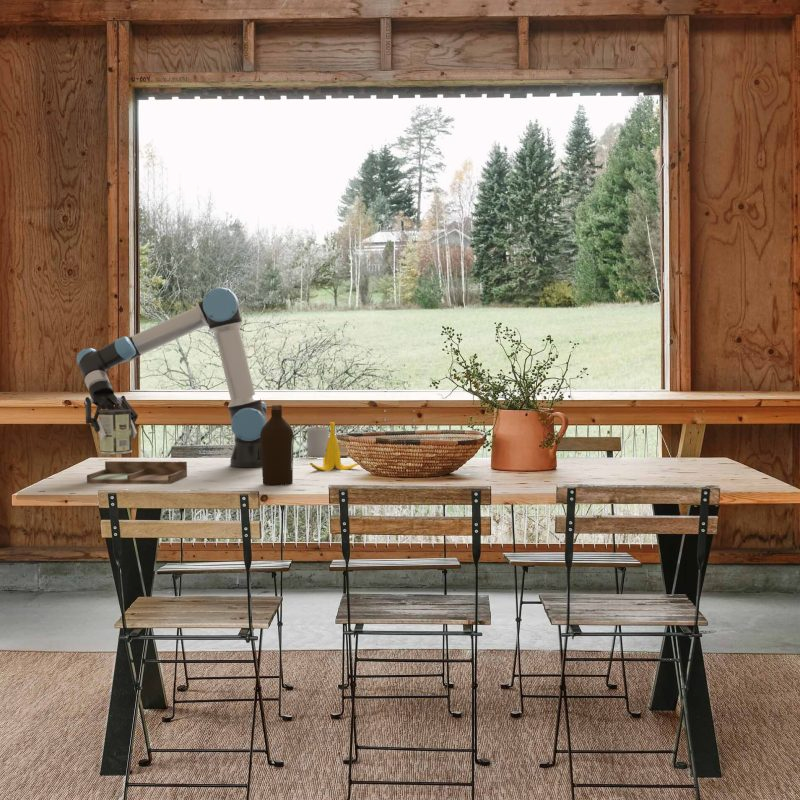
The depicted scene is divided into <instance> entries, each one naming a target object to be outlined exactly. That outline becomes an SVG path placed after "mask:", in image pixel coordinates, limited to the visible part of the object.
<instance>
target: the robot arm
mask: <svg viewBox="0 0 800 800" xmlns="http://www.w3.org/2000/svg"><path fill="white" fill-rule="evenodd" d="M243 323H244V322H243V318H242V314H241V309H240V301H239V299H238V297H237V295H236V294H235V293H234V291H233V290H232V289H229V288H228V287H225V286H219V287H214V288H211V289H210V290H208V291H207V293H206V294H205V295H204V297H203V300H201V301H199V302H197V303H196V306H195V307H192V308H190V309H188V310H185V311H183V312H181V313H179V314H177V315H175V316H173V317H171V318H168V319H166V320H164V321H162V322H160V323H158V324H156V325H153V326H151V327H149V328H147V329H145V330H142V331H140V332H138V333H136V334H134V335H131V336H130V337H128V336H125V335H124V336H121V337H120V338H117V339H115V340H114V341H112V342H110V343H108V344H107V345H105V346H104V347H103V346H102V348H99V349H94V348H93V347H88V348H83V349H82V350H80V351H79V352H78V353H77V356H76V362H77V365H78V369H79V371H80V373H81V376H82V378H83V380H84V383H85V385H86V387H87V390H88V393H89V395H90V397H88V396H87V397H85V399H84V402H83V404H84V407H85V424H86V425H90V426H91V427H92V428H93V429H94V431H95V432H97V433H98V435H99V439H100V438H101V441H104V439H105V436H106V434H105V431H104V429H103V426H102V424H101V421H100V420H99V411H100V410H109V409H130V410H131V439H132V440H133V439H136V437H137V435H138V432H137V423H136V421H137V420H138V417H139V415H138V413H137V412H136V411H135V410H134V408H133V407H132V406H131V405H130V403H129V402H128V400H127V399H126V396H125V395H121V396H120V397H117V396H116V395H115V392H114V389H113V386H112V384H111V382H110V379H109V376H108V375H107V374H108V373H106V372H107V371H108V370H110V369H112V368H113V367H115V366H118V365H120V364H123V363H124V364H125V363H126V364H127V363H130V362H131V361H133V360H134V359H136V358H139V357H141V356H142V355H144V354H147V353H149V352H151V351H153V350H156V349H158V348H160V347H162V346H164V345H166V344H168V343H171V342H174V341H175V340H177V339H179V338H182V337H184V336H187V335H188V334H190V333H192V332H195V331H197V330H199V329H202V328H203V327H208V328H209V331H211V332H212V333H214V334H215V338H216V342H217V347H218V351H219V355H220V360H221V364H222V368H223V371H224V372H223V373H224V377H225V381H226V385H227V389H228V393H229V394H228V395H229V398H230V402H229V403H228V405H227V408H228V413H229V417H230V422H231V423H230V426H231V430H232V432H233V434H234V446H233V450H232V453H231V456H230V460H229V462H230V464H229V465H230V466H231V467H235V468H262V458H261V443H260V433H261V430H262V428H263V426H264V425H265V424H266V423H267V422H268V420H267V419H268V418H267V416H268V413H267V412H268V409H267V403H266V402H264V401H262V400H261V398H260V397H258V396H257V395H256V393H255V389H254V384H253V380H252V375H251V372H250V366H249V363H248V359H247V354H246V351H245V345H244V342H243V337H242V333H241V328H240V327H242V324H243ZM92 404H93V405H94V406H96V410H95V413H94V416H93V417H92Z"/></svg>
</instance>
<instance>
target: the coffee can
mask: <svg viewBox="0 0 800 800" xmlns="http://www.w3.org/2000/svg"><path fill="white" fill-rule="evenodd" d="M98 420H100V421H101V424H102V426H103V429H104V431H105V434H106V436H105V439H104V441H101V438H100V437H99V452H100V454H101V455H125V454H130V453H131V454H132V452H133V449H132V447H133V446H132V445H133V444H132V443H133V442H132V440H133V438H132V436H131V410H130V409H105V410H102V409H101V410H100V411H99V416H98Z"/></svg>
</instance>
